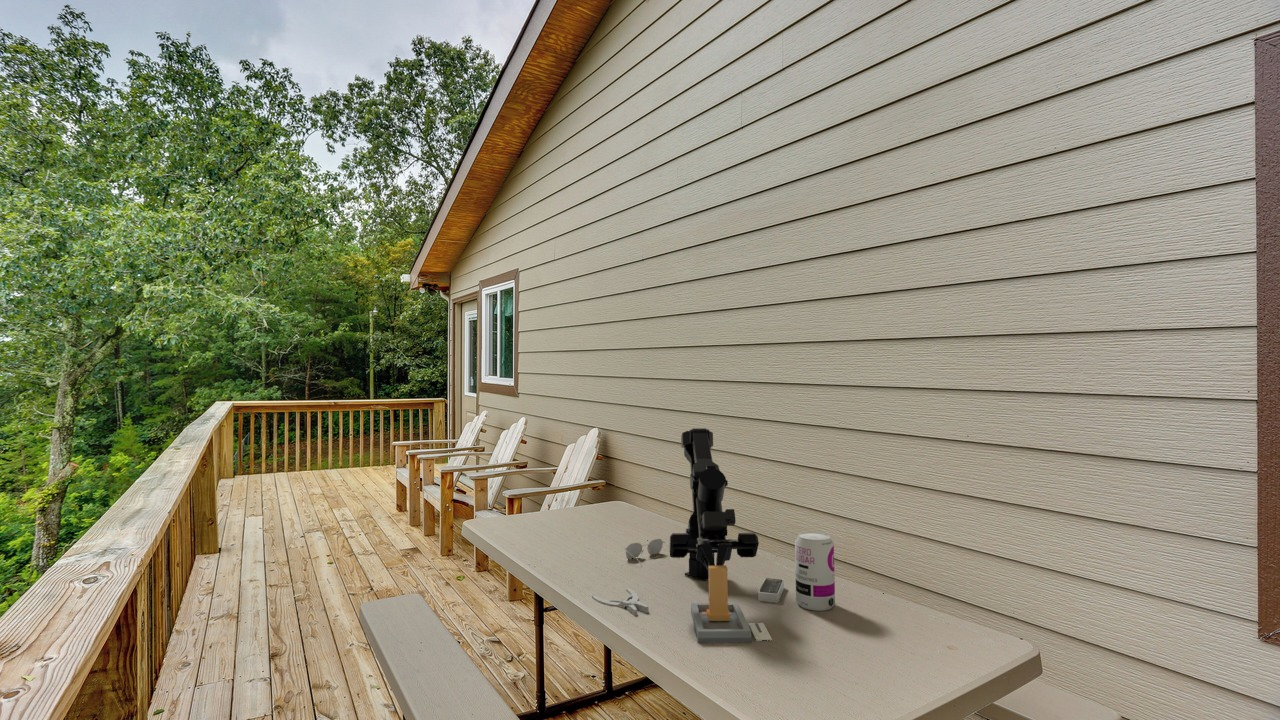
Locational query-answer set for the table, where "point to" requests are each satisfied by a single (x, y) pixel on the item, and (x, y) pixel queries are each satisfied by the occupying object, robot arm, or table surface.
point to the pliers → (626, 603)
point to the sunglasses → (636, 548)
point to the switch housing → (726, 626)
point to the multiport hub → (771, 590)
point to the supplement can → (815, 571)
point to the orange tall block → (718, 594)
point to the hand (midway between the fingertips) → (717, 582)
